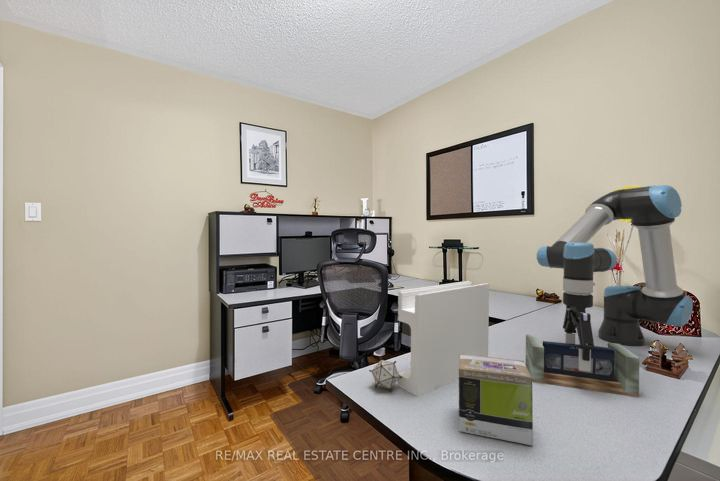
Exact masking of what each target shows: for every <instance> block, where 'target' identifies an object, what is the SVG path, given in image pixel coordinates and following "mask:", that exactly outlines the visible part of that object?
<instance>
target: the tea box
mask: <svg viewBox="0 0 720 481" xmlns="http://www.w3.org/2000/svg"><path fill="white" fill-rule="evenodd" d="M533 408H534V405H533V382H532V377H531V375H530V373H529V371H528V369H527V367H526V362H525V360H520V359H510V358H501V357H492V356H488V357H485V356H476V355H466V354H460V357H459V379H458V430H459V432H461V433H467V434H472V435H476V436H483V437H487V438H493V439H497V440H503V441H507V442H512V443H518V444H523V445H527V446H534V445H533V440H534V438H533V437H534V434H533V433H534V431H533V427H534V425H533V424H534V422H533V419H534V418H533V417H534V416H533Z"/></svg>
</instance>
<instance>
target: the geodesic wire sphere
mask: <svg viewBox="0 0 720 481" xmlns="http://www.w3.org/2000/svg"><path fill="white" fill-rule="evenodd" d="M379 360H380V361H378V363H377V364H376V365H375V366H374V367H373V369H372V370H371V369H369V370H368V371H369V372H370V373H371V374H372V376H373V377H372V378H373V380H374V381H375V385H374V387H375V388H377V387H378V386H379V387H381V388H384V389H387V390H389V392H390V393H392V389H393V386H394V385H395V384H397V382H398V379H399V378H402V377H401V376H399V374H398V373H399V372H398V369H397V366H396V363H397V361H396V360H394V361H392V362H391V361H387V360H384V359H382V357H379Z"/></svg>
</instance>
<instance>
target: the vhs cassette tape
mask: <svg viewBox="0 0 720 481" xmlns="http://www.w3.org/2000/svg"><path fill="white" fill-rule="evenodd" d="M542 345H543V347H544V372H546V373H553V374H561V375H568V376H575V377H583V378H590V379H598V380H605V381H612V382H614V362H615V360H614V359H613V358H615V352H614V351H615V350H613V349H612V348H608V346H607V347H606V346H605V347H604V346H598V345H594V347H595V349H594V350H591V372H588V371H580V370H579V348H578V345H580V343H579V344H576V343H575V344H569V343H565V342H557V341H546V340H542Z"/></svg>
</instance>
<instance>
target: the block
mask: <svg viewBox="0 0 720 481" xmlns="http://www.w3.org/2000/svg"><path fill="white" fill-rule="evenodd" d="M472 284H473V282H472V281H471V280H465V281H464V280H463V281H459V282H458V281H457V282H451V283H450V282H449V283H445V284H436V285H430V286H423V287H414V288H409V289H401V290H398V291H397V292H398V293H397V294H398V297H397V299H398V300H397V305H398V307H397V315H398V316H397V321H399V322H402V323H404V324H407V325H408V326H409V327H410V369H407V370H404V371H401V372H398V374H399V376H401V377H402V378H399V379H398V380H397V386H398V387H400V388H402V389H403V390H405V391H406V392H409V393H410V394H411V395H413V396H416V397H418V398H419V397H421V396H424V395H425V394H427V393H430V392H432V391H434V390H436V389H438V388H442V387H443V386H445V385H447V384H449V383H451V382H454V381H456V380H459V357H460V354H466V355H476V356H485V357H489V330H490V329H489V323H490V322H489V320H490V319H489V317H490V315H489V314H490V313H489V312H490V304H489V303H490V283H489V282H488V283H487V282H486V283H480V284H474V285H472Z"/></svg>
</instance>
